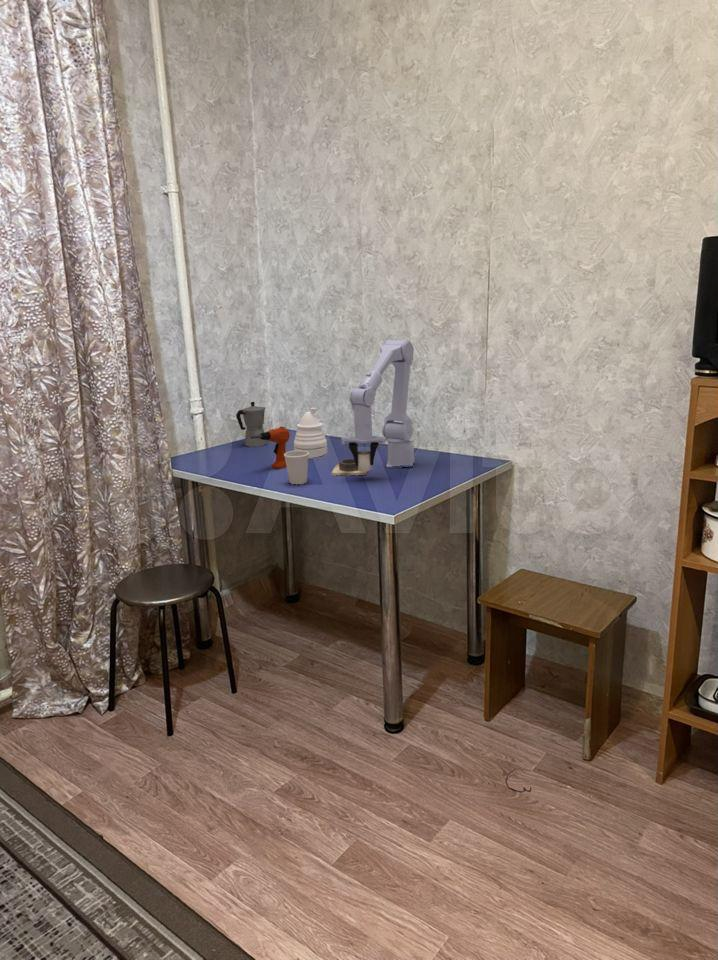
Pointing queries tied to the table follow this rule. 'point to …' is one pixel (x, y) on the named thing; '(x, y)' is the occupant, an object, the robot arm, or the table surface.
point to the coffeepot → (252, 424)
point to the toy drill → (280, 438)
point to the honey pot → (310, 435)
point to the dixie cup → (297, 466)
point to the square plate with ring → (347, 468)
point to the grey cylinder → (364, 460)
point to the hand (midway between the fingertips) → (364, 464)
